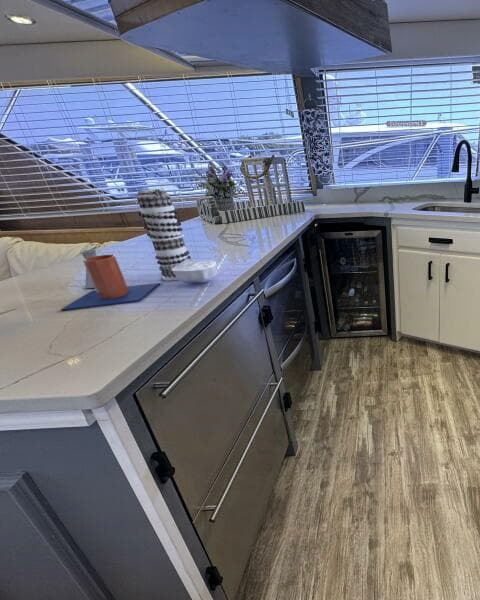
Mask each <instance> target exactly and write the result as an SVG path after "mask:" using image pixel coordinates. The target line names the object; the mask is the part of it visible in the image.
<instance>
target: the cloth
mask: <svg viewBox="0 0 480 600" xmlns="http://www.w3.org/2000/svg"><path fill="white" fill-rule="evenodd" d="M159 286H160V282H156V283H147V284H137V285H129V286H128V285H127V287H128V290H129V293H128V294H126V295H124V296H121V297H118V298H113V299H100V297H99V296H98V294H97V291H96V289H94V290H91V291H90V292H88V293H86V294H84V295H83V296H81V297H80V298H78V299H76V300H74V301H73V302H71V303H69V304H67V305H66V306H64V307H63V308H61V312H64V311H69V310H70V311H72V310H79V309H88V308H96V307H104V306H113V305H119V304H120V305H121V304H128V303H129V304H130V303H135V302H140V301H141V300H143V299H144V298H145V297H146V296H148V295H149V294H150V293H151V292H153V291H154V290H155V289H156V288H158V287H159Z"/></svg>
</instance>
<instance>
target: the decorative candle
mask: <svg viewBox="0 0 480 600" xmlns="http://www.w3.org/2000/svg"><path fill="white" fill-rule="evenodd" d="M135 198H136V199H137V203H138V206H139V211H138V212H137V215H138V216H139V217H141V218H142V219H141V220H140V221H141V224H143V229H144V230H146V231H147V232H146V233H145V234H146V235H147V237H148V240H149V241H150V242H152V246H153V248H154V250H153V251H154V253H155V257H154V259H155V260H157V262H156V263H157V264H158V265H160V266H159V267H158V270H159V271H161V272H160V275H161V276H162V280H163V281H167V282H169V281H180V280H179V279H178V278H177V277H176V275H175V274H174V272H173V271H172V270H171V269H172V268H174V267H175V266H178V265H180V264H182V262H183V261H184V260H185V259H192V257H191V256H190V255H189V254H190V251H189V250H188V249H187V245H186V244H185V241H184V236H185V235H184V234H183V233H181V232H182V231H183V230H184V229H183V228H182V227H180V226H182V222H180V221H178V220H179V219H180V215H178V213H179V210H178V209H176V208H175V206H174V204H173V202H172V199H171V193H168V192H167V191H166V190H164V189H163V188H151V189H150V188H149V189H141V190H138V191H137V195H135Z"/></svg>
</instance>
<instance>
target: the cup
mask: <svg viewBox="0 0 480 600" xmlns="http://www.w3.org/2000/svg"><path fill="white" fill-rule="evenodd" d="M82 262H83V265H84V267H85V270H86V269H87V271H88V274H89V276H90V278H91V280H92V282H93V285H94V287H95V288H94V290H96V291H97V294H98V296H99V297H100V299H113V298H118V297H121V296H124V295H126V294H128V293H129V290H128V285H127V282H126V279H125V276H124V274H123V272H122V270H121V267H120V265H119V262H118V260H117V257H116V255H115V254H101V255H97V256H95V257H90V258H87V259H84V258H83V260H82Z"/></svg>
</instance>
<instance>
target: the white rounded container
mask: <svg viewBox="0 0 480 600" xmlns="http://www.w3.org/2000/svg"><path fill="white" fill-rule="evenodd" d="M171 270H172V271H173V272H174V274H175V275H176V277H177V278H178V279H179V280H178V281H180V282H182V283H185V284H195V283H203V284H204V283H207V282H209V281H211V280H213V279H214V278H215V277H216V275H217V273H218V267H217V262H216V261H214V260H212V259H211V260H194V259H193V258H191V259H185V260H184V261H183V262H182V264H180V265H178V266H175V267H174V268H172V269H171Z"/></svg>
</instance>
